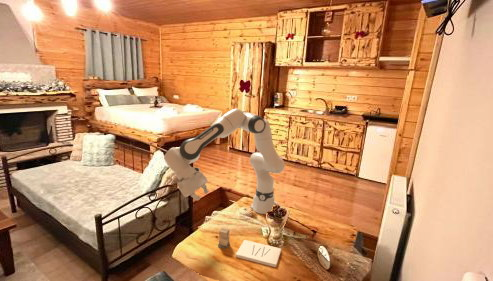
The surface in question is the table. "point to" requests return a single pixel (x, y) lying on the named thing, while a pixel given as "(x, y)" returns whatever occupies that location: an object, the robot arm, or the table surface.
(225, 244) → the block
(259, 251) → the board
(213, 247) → the table surface
